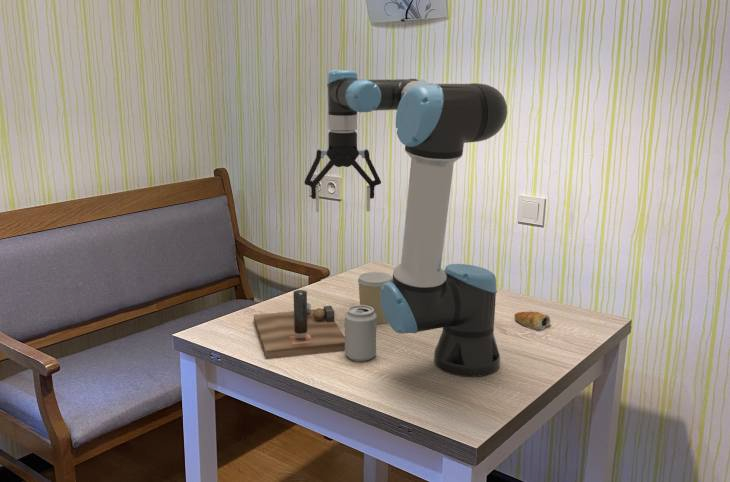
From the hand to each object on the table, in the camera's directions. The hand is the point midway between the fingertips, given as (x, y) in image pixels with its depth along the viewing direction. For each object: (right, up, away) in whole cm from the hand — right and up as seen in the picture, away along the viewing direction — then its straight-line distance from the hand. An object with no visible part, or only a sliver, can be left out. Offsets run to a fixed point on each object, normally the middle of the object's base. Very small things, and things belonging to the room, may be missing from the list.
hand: (342, 210), depth 191 cm
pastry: (+51, -31, -1) cm, 59 cm away
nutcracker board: (-11, -32, -9) cm, 35 cm away
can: (+5, -36, -21) cm, 42 cm away
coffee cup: (+9, -30, +2) cm, 31 cm away
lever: (-10, -30, -8) cm, 32 cm away
